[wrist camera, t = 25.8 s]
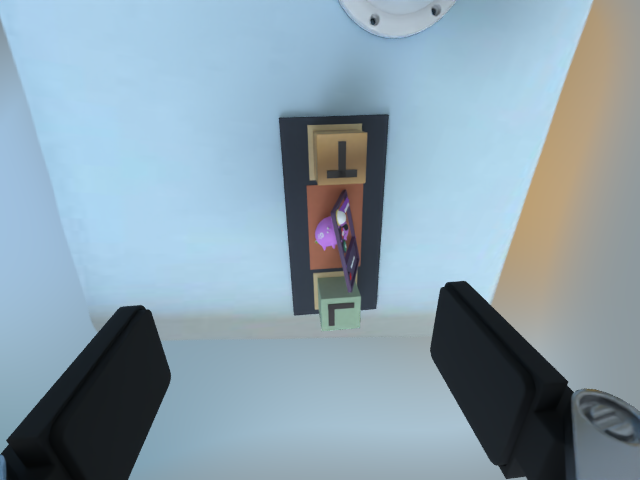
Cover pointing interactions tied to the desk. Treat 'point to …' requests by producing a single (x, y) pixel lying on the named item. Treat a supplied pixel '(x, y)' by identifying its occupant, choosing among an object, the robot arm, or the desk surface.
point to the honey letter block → (340, 156)
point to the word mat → (318, 201)
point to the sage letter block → (338, 304)
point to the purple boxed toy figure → (340, 238)
